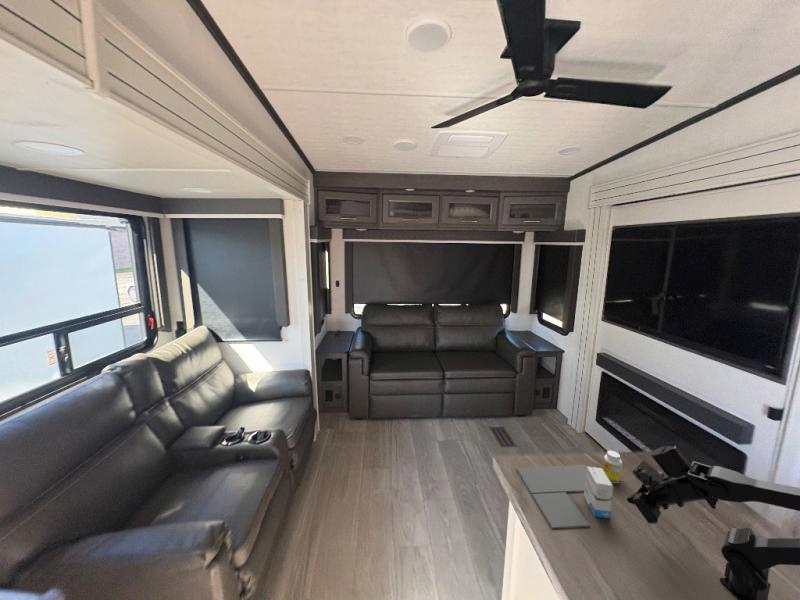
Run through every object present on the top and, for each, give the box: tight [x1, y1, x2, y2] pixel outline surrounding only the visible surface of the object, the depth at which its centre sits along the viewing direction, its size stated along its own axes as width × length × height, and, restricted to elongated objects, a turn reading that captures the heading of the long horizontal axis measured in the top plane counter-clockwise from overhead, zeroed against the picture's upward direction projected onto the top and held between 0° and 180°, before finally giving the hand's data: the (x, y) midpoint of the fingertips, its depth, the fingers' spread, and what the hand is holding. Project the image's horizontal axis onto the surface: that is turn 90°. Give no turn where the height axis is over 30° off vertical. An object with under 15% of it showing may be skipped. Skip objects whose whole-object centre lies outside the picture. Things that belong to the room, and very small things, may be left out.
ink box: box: [583, 465, 614, 519], centre depth 101 cm, size 8×5×12 cm, turn 168°
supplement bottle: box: [602, 450, 623, 484], centre depth 113 cm, size 6×6×10 cm
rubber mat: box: [516, 464, 591, 530], centre depth 107 cm, size 26×28×1 cm
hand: (627, 500), depth 94 cm, fingers closed
